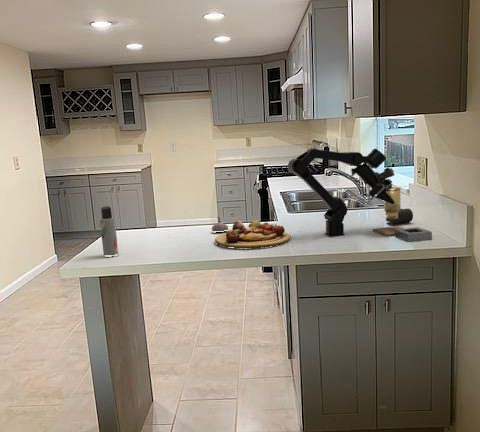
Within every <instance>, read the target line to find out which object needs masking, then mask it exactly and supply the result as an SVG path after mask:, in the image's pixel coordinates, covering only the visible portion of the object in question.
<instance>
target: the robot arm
mask: <svg viewBox="0 0 480 432" xmlns="http://www.w3.org/2000/svg"><path fill="white" fill-rule="evenodd" d="M315 159H319V160H320V159H321V160H326V161H327V160H328V161H335V162H340V163H342V164H346V165H348V166H351V167H352V166H354V167H355V168H351V171H350V172H351V177H353V176H355V175H357V176H358V177H359V178H360V179H361V180H362V181H364V184H365V185H367V186H368V187H369V188H370V190H369V192H368V193H369V194H368V196H370V197H371V199H372V198H375V199H378V200H380V201H381V200H382V201H383V202H384V201H386V202H388V203H391V204H394V203H395V202H394V200H393V199H392V198H391V196H390V195H389V194H388V192H387V188H392V187H393V181H392V179H391V177H392V178H393V177H394V176H395V172H394V171H395V170H393V168H392V167H391V168H390V167H386V168H384V171H382V172H381V173H379V172H378V171H377V172H376V171H374V170H373V169H375V170H376V169H378V168H379V167H380V166H381V165H382V164H384V163H385V162H386V161H387V157H386V155H385V154H384V153H383V152H381V151H380V150H378V148H373V149H372V150H371V152H369V153H368V154H367V155H366V156H365V155H363V154H362V153H361V152H358V151H343V152H340V151H339V152H338V151H330V150H325V149H317V148H314V147H313V148H308V149H307V150H306V151H305V152H303V153H302V154H300V155H299V156H297V157H296V158H292V159H291V160H289V161H288V164H287V170H288V171H289V172H290V173H292V174H294V175H295V176H297V177H298V178H300V179H301V180H303V182H304V184H306V185H307V186H308V187H309V188H310V189H311V190H312V191H313V193H315V194H316V195H317V196H318V197H319V198H320V199H321V201H323V203H324V205H325V207H326V209H327V211H326V212H325V213H324V214H323V216H324V220H325V231H326V232H324V234H325V235H326V236H328V237H337V236H338V237H340V236H344V235H345V233H344V230H345V229H344V228H345V227H344V225H345V224H344V223H343V222H344V220H345V216H346V215H348V207H347V203H345V202H344V201H343V199H342V198H341V197H338V196H334V197H333V195H332V194H331V193H330V192H328V190H327V188H325V187H324V186H323V185H322V184H321V183H320V182H319V180H317V178H315V177H314V175H313V174H312V173H311V171H310V168H309V165H310V164H311V163H313V161H314V160H315Z"/></svg>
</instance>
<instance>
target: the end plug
mask: <svg viewBox="0 0 480 432" xmlns="http://www.w3.org/2000/svg"><path fill="white" fill-rule="evenodd" d="M387 192H388V194H389V195H390V196H391V198H392V199H393V200H394V202H395V203H394V204H391V203H388V202H386V201H383V202H384V203H383V204H384V210H383V211H384V212H385V213H386V212H387V215H386V217H387V219H398V212H399V211H401V209H402V208H401V187H393V186H392V188H387Z"/></svg>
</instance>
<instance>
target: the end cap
mask: <svg viewBox="0 0 480 432" xmlns="http://www.w3.org/2000/svg"><path fill="white" fill-rule="evenodd" d="M400 209H401V211H399V212H398V219H387V212H386V211H385V215H386V217H385V222H386V225H387V226H388V225H390V226H398V225H405V224H410V223H411V222H412V221H413V219H414V213H413V210H412V209H411V208H400Z"/></svg>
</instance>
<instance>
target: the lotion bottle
mask: <svg viewBox="0 0 480 432" xmlns="http://www.w3.org/2000/svg"><path fill="white" fill-rule="evenodd" d="M100 211H101V218H100V219H99V224H100V225H99V226H100V232H101V233H100V234H101V242H102V250H103V251H102V252H103V256H104V255H115V254H118V255H119V247H118V238H117V229H116V220H115V217H113V215H112V207H111V206H109V205H107V206H103V207H101V208H100Z"/></svg>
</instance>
